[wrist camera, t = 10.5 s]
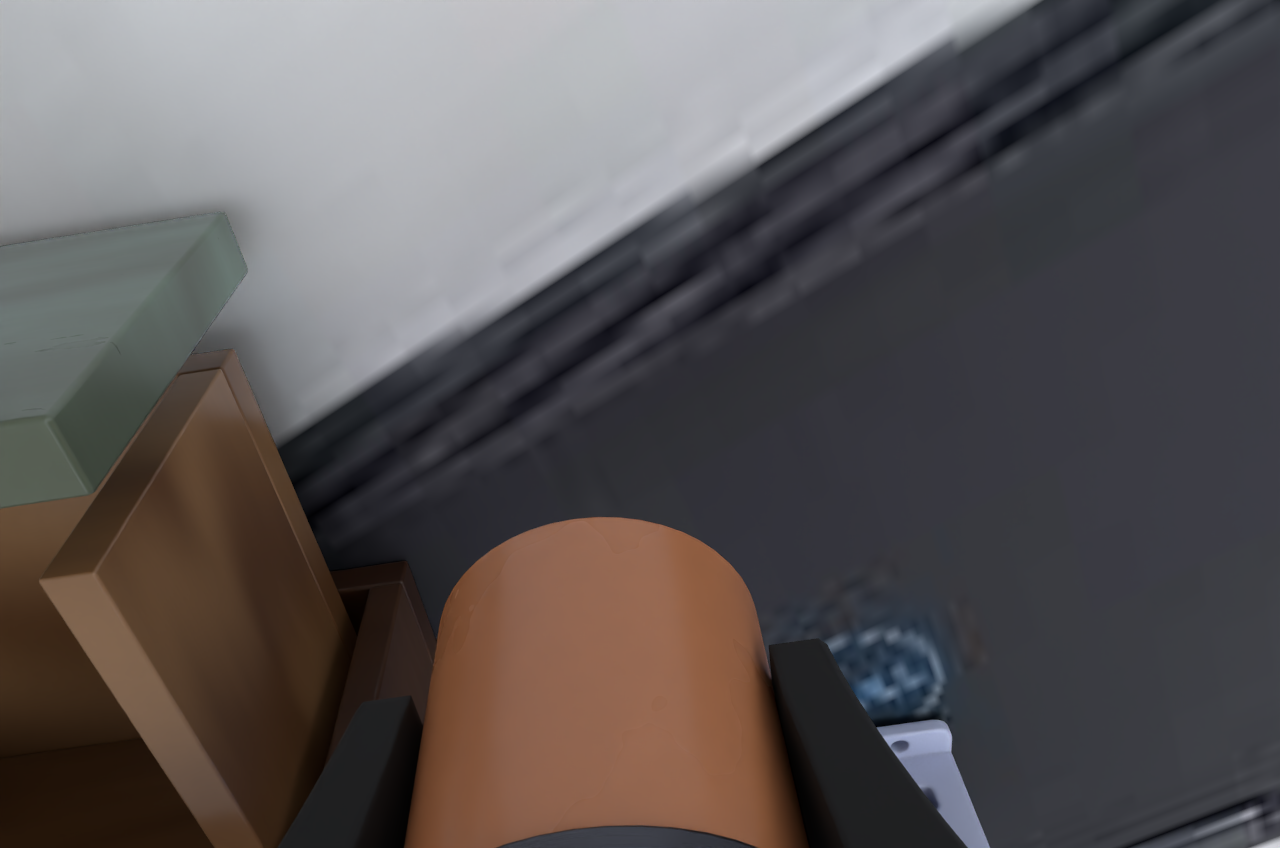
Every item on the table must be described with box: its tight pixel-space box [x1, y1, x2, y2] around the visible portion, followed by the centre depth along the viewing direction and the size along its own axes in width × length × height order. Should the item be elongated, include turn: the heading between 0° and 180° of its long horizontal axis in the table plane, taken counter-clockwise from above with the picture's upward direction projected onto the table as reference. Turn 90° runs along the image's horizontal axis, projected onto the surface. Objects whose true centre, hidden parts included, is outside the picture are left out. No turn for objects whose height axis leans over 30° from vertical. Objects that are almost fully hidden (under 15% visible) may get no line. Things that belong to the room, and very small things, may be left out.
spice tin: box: [404, 517, 811, 848], centre depth 11 cm, size 5×5×5 cm
